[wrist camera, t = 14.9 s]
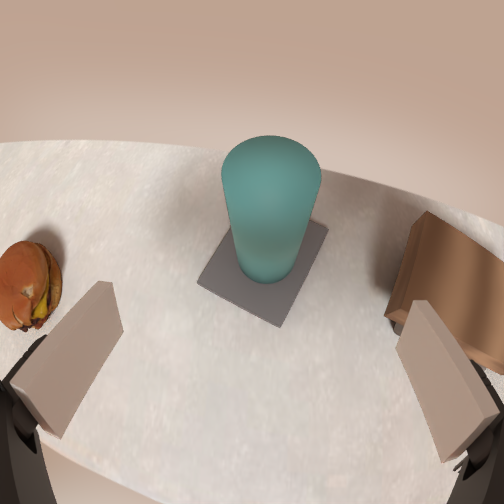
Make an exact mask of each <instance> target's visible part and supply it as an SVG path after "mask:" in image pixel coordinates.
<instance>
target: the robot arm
mask: <svg viewBox="0 0 504 504" xmlns="http://www.w3.org/2000/svg"><path fill="white" fill-rule="evenodd" d="M123 332H124V331H123V327H122V323H121V320H120V315H119V311H118V307H117V303H116V298H115V294H114V289H113V284H112V282H104V281H98V282H97V283H96V284H95V285H94V286H93V287H92V288H91V289H90V290H89V291H88V292H87V293H86V294H85V295H84V296H83V297H82V298H81V299H80V300H79V301H78V302H77V303H76V304H75V306H74V307H73V308H72V309H71V310H70V311H69V312H68V313H67V314H66V315H65V316H64V317H63V319H62V320H61V321H60V322H59V323H58V324H57V325H56V326H55V327H54V329H53V330H52V331H51V332H50V333H49V334H48V335H43V336H42V337H40V338H39V339H37V340H36V341H35V342H34V343H33V344H32V345H31V346H30V347H29V349H28V351H26V352H25V353H24V355H23V357H22V358H20V359H19V361H18V362H17V363H16V364H15V365H14V367H13V368H12V369H11V370H10V372H9V373H8V374H7V375H6V377H5V378H4V379H3V380H2V382H1V380H0V504H57V503H56V499H55V496H54V494H53V490H52V487H51V484H50V480H49V477H48V473H47V470H46V466H45V462H44V458H43V453H42V449H41V444H40V439H39V434H38V432H37V430H36V426H37V425H38V424H39V425H40V426H41V427H42V429H43V430H44V431H45V432H46V433H48V434H50V435H52V436H54V437H56V438H58V439H60V440H61V438H62V436H63V434H64V432H65V430H66V429H67V427H68V425H69V423H70V421H71V419H72V418H73V416H74V414H75V412H76V410H77V409H78V407H79V405H80V403H81V401H82V400H83V398H84V396H85V394H86V393H87V391H88V389H89V388H90V386H91V384H92V382H93V381H94V379H95V377H96V376H97V374H98V372H99V371H100V369H101V367H102V366H103V364H104V362H105V361H106V359H107V358H108V356H109V354H110V353H111V351H112V350H113V348H114V346H115V345H116V343H117V342H118V340H119V338H120V337H121V335H122V334H123ZM396 351H397V353H398V355H399V357H400V359H401V361H402V364H403V366H404V368H405V370H406V373H407V375H408V377H409V379H410V382H411V384H412V386H413V389H414V391H415V394H416V396H417V398H418V401H419V403H420V406H421V408H422V411H423V413H424V416H425V418H426V421H427V424H428V426H429V429H430V432H431V434H432V437H433V440H434V443H435V446H436V448H437V451H438V454H439V457H440V460H441V463H444V462H447V461H450V460H453V459H456V458H458V457H459V456H460V455H461V454H462V453H463V452H464V451H465V450H467V452H468V455H467V456H466V457H465V458H464V459H463V460H462V461H461V462H460V463H459V464H458V465H456V466H455V468H454V469H453V471H456V470H457V469H458V468H459V467H461V466H462V467H461V470H460V471H459V472H458V473H459V475H458V478H457V481H456V483H455V486H454V488H453V490H452V493H451V495H450V497H449V500H448V502H447V504H504V404H503V403H502V401H501V399H500V397H499V396H498V394H497V392H496V390H495V389H494V387H493V385H492V386H491V382H490V381H489V379H488V378H487V376H486V374H485V373H484V371H483V369H482V368H481V367H480V366H479V365H478V364H477V363H476V362H475V361H474V360H472V359H471V360H469V359H468V357H467V356H466V354H465V353H464V351H463V350H462V348H461V347H460V345H459V344H458V342H457V341H456V339H455V338H454V337H453V335H452V334H451V332H450V331H449V329H448V328H447V327H446V325H445V324H444V322H443V321H442V320H441V318H440V317H439V316H438V314H437V313H436V312H435V310H434V309H433V308H432V306H431V305H430V304H429V302H428V301H427V300H413V303H412V306H411V309H410V311H409V314H408V317H407V320H406V322H405V325H404V328H403V330H402V333H401V336H400V338H399V341H398V343H397V346H396Z"/></svg>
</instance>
